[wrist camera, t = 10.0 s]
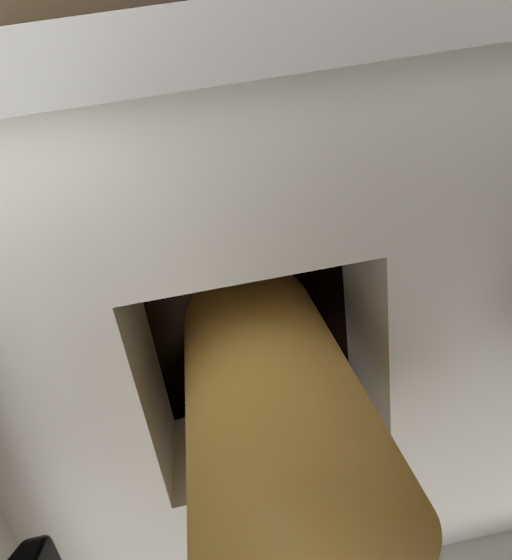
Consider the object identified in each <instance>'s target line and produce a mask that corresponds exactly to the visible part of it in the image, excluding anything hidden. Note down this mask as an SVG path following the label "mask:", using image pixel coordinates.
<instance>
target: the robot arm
mask: <svg viewBox="0 0 512 560" xmlns="http://www.w3.org/2000/svg"><path fill="white" fill-rule="evenodd" d="M7 560H62V559H61V557H60V555H59V553H58V551H57V548H56V546H55V544H54V542H53V540H52V538H51V537H50V536H49V535H41V536H36V537H32V538H28V539H25V540H24V541H22V542H21V543H20V544H19V545H18V547H17V548H16V549H15V550H14V552H13V553H12V554H11V555H10V557H9V558H8V559H7Z"/></svg>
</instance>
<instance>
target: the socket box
mask: <svg viewBox="0 0 512 560" xmlns="http://www.w3.org/2000/svg"><path fill="white" fill-rule="evenodd" d="M336 266H342V271H343V286H344V301H345V316H346V332H347V347H348V362H349V364H350V366H351V367H352V369H353V371H354V373H355V374H356V376H357V378H358V379H359V381H360V383H361V385H362V386H363V388H364V390H365V391H366V393H367V395H368V396H369V398H370V400H371V402H372V403H373V405H374V407H375V408H376V410H377V412H378V414H379V415H380V417H381V419H382V420H383V422H384V424H385V425H386V427H387V429H388V431H389V432H390V434H391V436H392V437H393V439H394V441H395V443H396V444H397V446H398V448H399V449H400V451H401V453H402V454H403V456H404V458H405V460H406V461H407V463H408V465H409V466H410V468H411V470H412V471H413V473H414V475H415V477H416V478H417V480H418V482H419V483H420V485H421V487H422V489H423V490H424V492H425V494H426V495H427V497H428V499H429V500H430V502H431V504H432V506H433V507H434V509H435V511H436V513H437V515H438V517H439V520H440V524H441V528H442V548H441V554H440V557H439V560H512V0H187V1H180V2H173V3H166V4H158V5H151V6H144V7H137V8H130V9H122V10H115V11H108V12H101V13H93V14H86V15H79V16H72V17H64V18H57V19H50V20H43V21H35V22H28V23H21V24H14V25H6V26H0V560H7V559H8V558H9V557H10V555H11V554H12V553H13V552H14V550H15V549H16V548H17V547H18V545H19V544H20V543H21V542H22V541H24V540H25V539H28V538H32V537H36V536H41V535H49V536H50V537H51V538H52V540H53V542H54V544H55V546H56V548H57V551H58V553H59V555H60V557H61V559H62V560H187V504H186V431H185V418H181V419H176V420H174V417H173V413H172V409H171V406H170V402H169V398H168V394H167V391H166V387H165V383H164V379H163V376H162V372H161V368H160V364H159V361H158V357H157V353H156V349H155V345H154V342H153V338H152V334H151V330H150V327H149V323H148V319H147V315H146V312H145V308H144V304H143V302H147V301H153V300H158V299H163V298H169V297H174V296H180V295H185V294H190V293H196V292H201V291H207V290H212V289H217V288H223V287H228V286H234V285H239V284H244V283H250V282H255V281H261V280H266V279H272V278H277V277H282V276H288V275H293V274H299V273H304V272H309V271H315V270H320V269H326V268H331V267H336Z"/></svg>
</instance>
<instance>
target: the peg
mask: <svg viewBox="0 0 512 560" xmlns="http://www.w3.org/2000/svg"><path fill="white" fill-rule="evenodd" d="M184 358H185V431H186V504H187V560H439V557H440V554H441V548H442V528H441V524H440V520H439V517H438V515H437V513H436V511H435V509H434V507H433V506H432V504H431V502H430V500H429V499H428V497H427V495H426V494H425V492H424V490H423V489H422V487H421V485H420V483H419V482H418V480H417V478H416V477H415V475H414V473H413V471H412V470H411V468H410V466H409V465H408V463H407V461H406V460H405V458H404V456H403V454H402V453H401V451H400V449H399V448H398V446H397V444H396V443H395V441H394V439H393V437H392V436H391V434H390V432H389V431H388V429H387V427H386V425H385V424H384V422H383V420H382V419H381V417H380V415H379V414H378V412H377V410H376V408H375V407H374V405H373V403H372V402H371V400H370V398H369V396H368V395H367V393H366V391H365V390H364V388H363V386H362V385H361V383H360V381H359V379H358V378H357V376H356V374H355V373H354V371H353V369H352V367H351V366H350V364H349V362H348V361H347V359H346V357H345V356H344V354H343V352H342V350H341V349H340V347H339V345H338V344H337V342H336V340H335V338H334V337H333V335H332V333H331V332H330V330H329V328H328V327H327V325H326V323H325V321H324V320H323V318H322V316H321V315H320V313H319V311H318V310H317V308H316V306H315V304H314V303H313V301H312V299H311V298H310V296H309V294H308V292H307V291H306V289H305V288H304V286H303V285H302V283H301V282H300V281H299V280H298V279H297V278H296V277H295V276H293V275H288V276H282V277H277V278H272V279H266V280H261V281H255V282H250V283H244V284H239V285H234V286H228V287H223V288H217V289H212V290H207V291H201V292H196V293H193V295H192V296H191V298H190V300H189V302H188V304H187V308H186V311H185V317H184Z"/></svg>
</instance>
